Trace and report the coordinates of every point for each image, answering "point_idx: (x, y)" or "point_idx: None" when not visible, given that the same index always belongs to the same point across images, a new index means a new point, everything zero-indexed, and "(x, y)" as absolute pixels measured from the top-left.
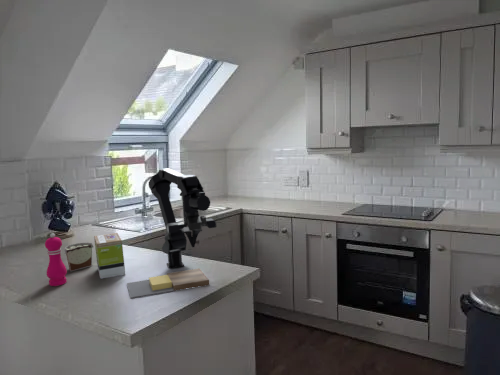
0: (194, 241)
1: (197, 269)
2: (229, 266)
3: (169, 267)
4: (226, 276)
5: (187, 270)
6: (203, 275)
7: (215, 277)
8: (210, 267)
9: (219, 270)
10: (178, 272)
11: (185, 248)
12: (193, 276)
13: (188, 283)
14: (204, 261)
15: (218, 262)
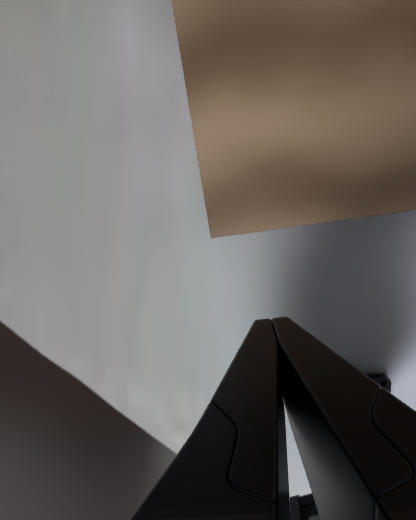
0: (256, 366)
1: (228, 215)
2: (20, 293)
3: (387, 378)
4: (24, 86)
5: (305, 218)
6: (192, 26)
7: (106, 91)
8: (138, 314)
9: (81, 239)
10: (381, 193)
11: (293, 509)
12: (282, 27)
13: None
14: (170, 420)
15: (91, 381)
